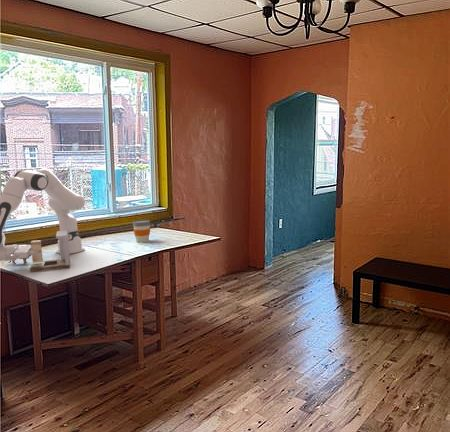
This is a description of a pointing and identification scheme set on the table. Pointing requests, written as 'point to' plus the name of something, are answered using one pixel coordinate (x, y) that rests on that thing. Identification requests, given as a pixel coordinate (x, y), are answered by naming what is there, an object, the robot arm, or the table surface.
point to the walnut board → (51, 265)
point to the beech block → (37, 246)
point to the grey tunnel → (63, 245)
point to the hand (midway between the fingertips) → (38, 250)
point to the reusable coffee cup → (141, 230)
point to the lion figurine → (22, 258)
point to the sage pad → (37, 264)
